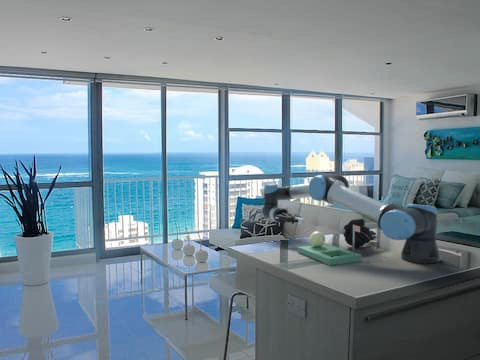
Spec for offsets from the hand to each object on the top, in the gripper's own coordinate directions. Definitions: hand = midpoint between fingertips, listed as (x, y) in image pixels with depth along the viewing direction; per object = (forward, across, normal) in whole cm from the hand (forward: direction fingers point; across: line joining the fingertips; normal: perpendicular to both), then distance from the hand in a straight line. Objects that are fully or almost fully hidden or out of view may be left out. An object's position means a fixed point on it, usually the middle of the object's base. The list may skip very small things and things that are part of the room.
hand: (302, 221), depth 199 cm
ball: (+12, 0, -6) cm, 14 cm away
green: (+21, 0, -12) cm, 24 cm away
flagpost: (+28, -10, -12) cm, 31 cm away
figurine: (+12, -24, -13) cm, 29 cm away
